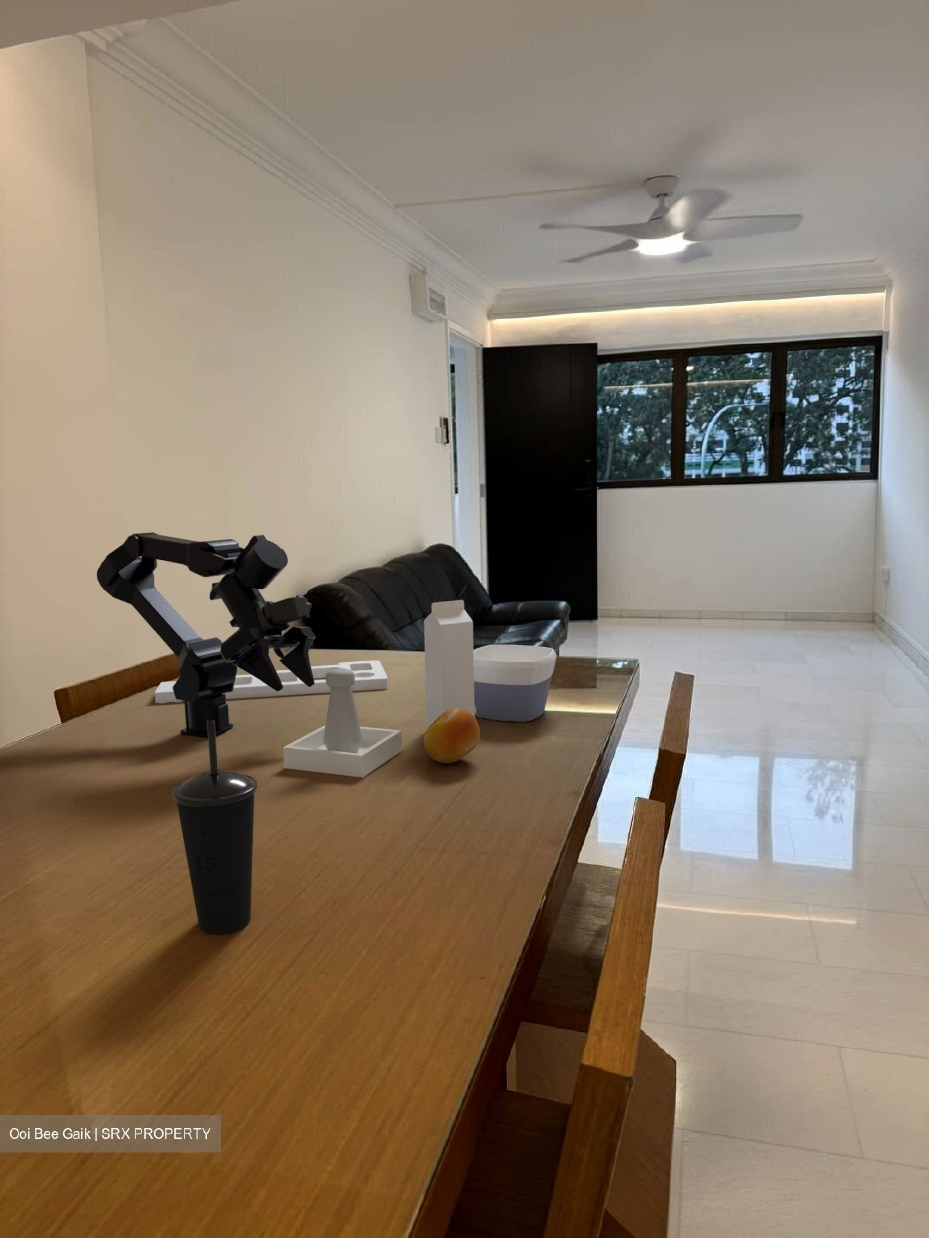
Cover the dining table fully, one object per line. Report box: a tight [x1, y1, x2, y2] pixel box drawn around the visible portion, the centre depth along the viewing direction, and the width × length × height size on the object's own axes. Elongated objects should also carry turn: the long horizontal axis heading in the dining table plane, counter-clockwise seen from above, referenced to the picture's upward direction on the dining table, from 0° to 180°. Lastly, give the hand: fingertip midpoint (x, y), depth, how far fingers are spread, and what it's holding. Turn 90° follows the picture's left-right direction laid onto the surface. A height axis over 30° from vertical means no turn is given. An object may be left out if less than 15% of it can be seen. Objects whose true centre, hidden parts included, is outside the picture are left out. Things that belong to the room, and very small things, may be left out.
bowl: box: [473, 644, 557, 723], centre depth 154 cm, size 15×15×11 cm
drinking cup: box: [172, 720, 258, 935], centre depth 82 cm, size 8×8×20 cm
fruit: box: [423, 708, 481, 764], centre depth 128 cm, size 8×9×8 cm
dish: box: [283, 725, 403, 778], centre depth 131 cm, size 13×13×3 cm
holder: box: [154, 660, 389, 704], centre depth 179 cm, size 45×18×3 cm, turn 101°
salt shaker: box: [324, 668, 362, 753], centre depth 130 cm, size 6×6×13 cm
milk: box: [423, 599, 476, 730], centre depth 142 cm, size 6×6×22 cm
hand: (296, 687), depth 134 cm, fingers open, 9 cm apart
